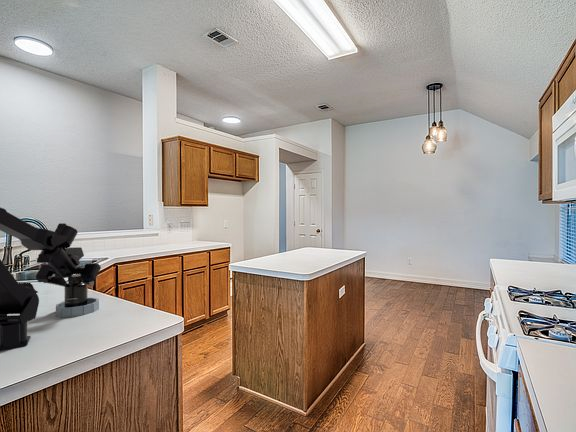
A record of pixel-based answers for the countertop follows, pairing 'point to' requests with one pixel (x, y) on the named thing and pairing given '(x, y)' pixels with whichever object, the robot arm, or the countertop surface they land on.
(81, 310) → the bowl
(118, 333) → the countertop surface
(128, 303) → the countertop surface
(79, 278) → the supplement bottle
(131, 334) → the countertop surface
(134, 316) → the countertop surface
